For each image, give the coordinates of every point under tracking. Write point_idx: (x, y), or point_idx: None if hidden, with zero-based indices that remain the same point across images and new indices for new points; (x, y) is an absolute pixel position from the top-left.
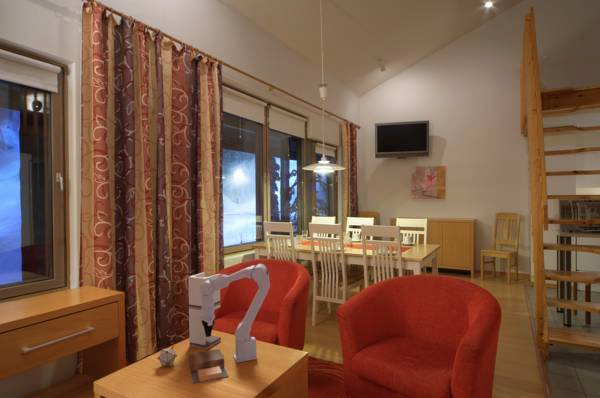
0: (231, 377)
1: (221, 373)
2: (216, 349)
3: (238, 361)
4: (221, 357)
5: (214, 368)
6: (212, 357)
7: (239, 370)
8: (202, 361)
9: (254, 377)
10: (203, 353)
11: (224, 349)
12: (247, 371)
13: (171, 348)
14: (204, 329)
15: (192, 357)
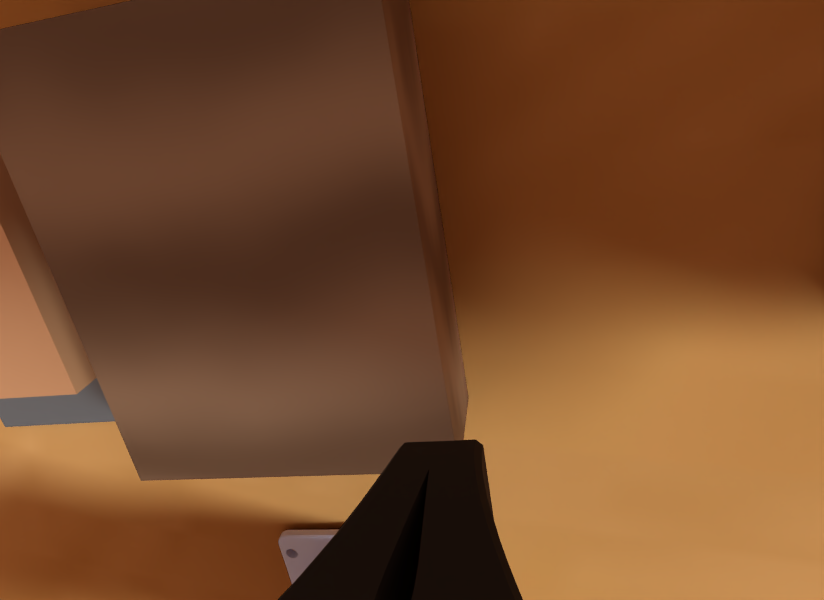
0: (5, 444)
1: None
2: (449, 430)
3: (281, 548)
4: (170, 458)
5: (21, 340)
6: (182, 358)
7: (131, 518)
8: (59, 221)
9: (16, 585)
10: (343, 239)
11: (700, 469)
12: (111, 566)
13: None
14: (423, 578)
15: (212, 46)
